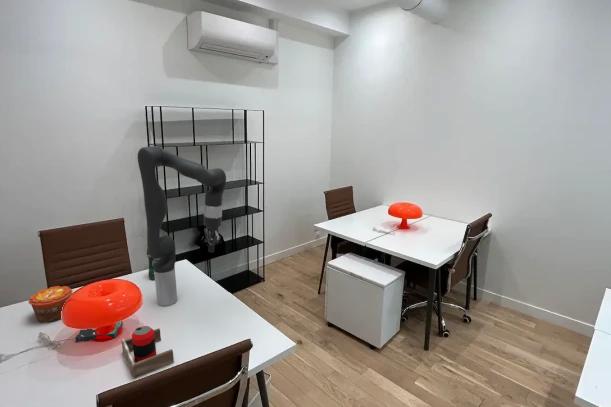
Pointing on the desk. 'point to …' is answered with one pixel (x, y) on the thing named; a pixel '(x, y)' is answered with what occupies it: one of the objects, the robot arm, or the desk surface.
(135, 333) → the soda can
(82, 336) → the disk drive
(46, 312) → the food container
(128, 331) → the desk surface
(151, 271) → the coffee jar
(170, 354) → the frame
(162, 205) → the robot arm
